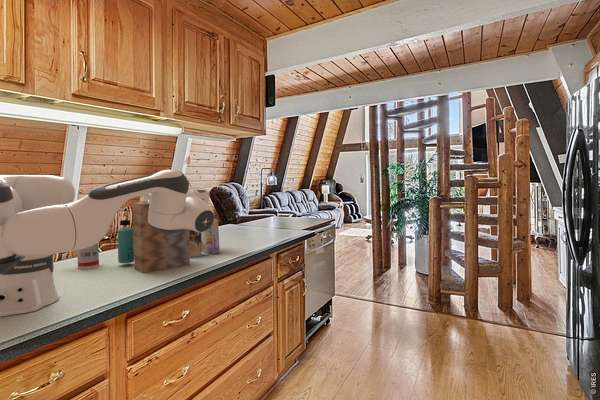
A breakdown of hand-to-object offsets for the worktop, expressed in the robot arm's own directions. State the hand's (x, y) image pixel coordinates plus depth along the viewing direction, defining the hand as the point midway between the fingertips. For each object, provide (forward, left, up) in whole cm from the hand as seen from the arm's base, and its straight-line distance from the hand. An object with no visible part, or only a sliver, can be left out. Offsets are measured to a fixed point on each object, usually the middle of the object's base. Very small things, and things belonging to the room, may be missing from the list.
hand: (168, 187), depth 120 cm
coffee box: (+25, +38, -35) cm, 57 cm away
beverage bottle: (-4, +40, -35) cm, 53 cm away
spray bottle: (-17, +48, -35) cm, 61 cm away
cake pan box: (+35, +43, -35) cm, 65 cm away
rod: (+2, +24, -7) cm, 25 cm away
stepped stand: (+7, +27, -35) cm, 44 cm away
